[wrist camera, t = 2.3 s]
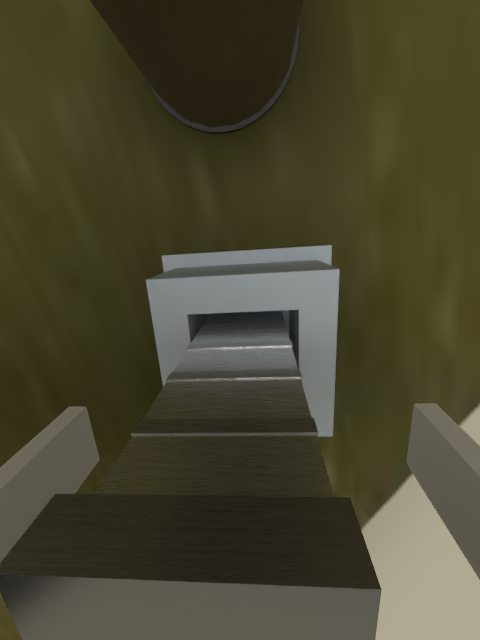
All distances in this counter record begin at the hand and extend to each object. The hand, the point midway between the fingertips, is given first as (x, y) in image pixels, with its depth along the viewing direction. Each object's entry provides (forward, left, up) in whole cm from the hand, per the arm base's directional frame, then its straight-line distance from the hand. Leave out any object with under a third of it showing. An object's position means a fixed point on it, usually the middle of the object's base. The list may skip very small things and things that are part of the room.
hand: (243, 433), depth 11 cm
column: (0, 0, -12) cm, 12 cm away
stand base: (0, 0, -13) cm, 13 cm away
